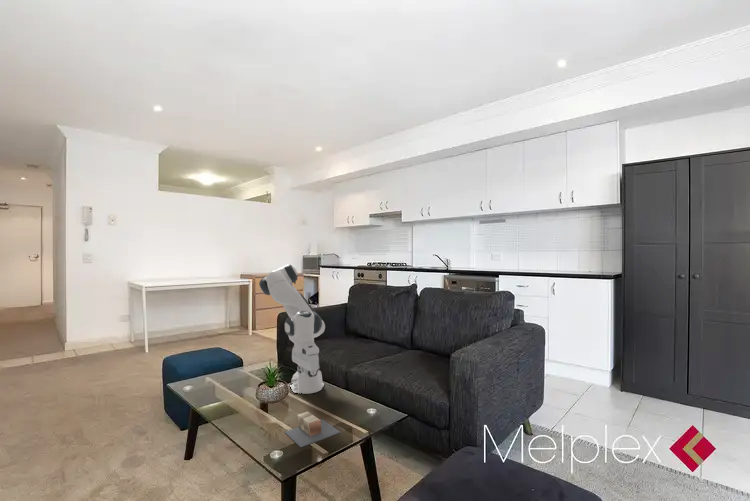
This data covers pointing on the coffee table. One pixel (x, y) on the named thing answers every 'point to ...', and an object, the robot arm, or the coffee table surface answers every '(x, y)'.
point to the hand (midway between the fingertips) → (304, 375)
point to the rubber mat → (305, 439)
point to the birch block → (309, 423)
